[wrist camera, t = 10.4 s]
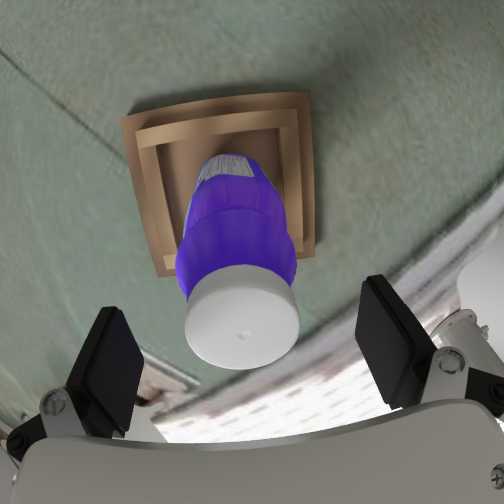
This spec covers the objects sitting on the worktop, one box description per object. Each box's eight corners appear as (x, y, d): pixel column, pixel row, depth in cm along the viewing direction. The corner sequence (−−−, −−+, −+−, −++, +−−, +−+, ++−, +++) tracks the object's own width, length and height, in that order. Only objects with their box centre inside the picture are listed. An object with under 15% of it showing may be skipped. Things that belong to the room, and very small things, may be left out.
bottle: (201, 145, 23) (156, 232, 7) (268, 154, 24) (353, 252, 8) (193, 225, 26) (164, 390, 11) (254, 231, 27) (294, 395, 12)
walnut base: (304, 92, 22) (313, 90, 20) (310, 249, 30) (318, 262, 28) (125, 116, 22) (115, 118, 20) (160, 269, 30) (155, 284, 27)
